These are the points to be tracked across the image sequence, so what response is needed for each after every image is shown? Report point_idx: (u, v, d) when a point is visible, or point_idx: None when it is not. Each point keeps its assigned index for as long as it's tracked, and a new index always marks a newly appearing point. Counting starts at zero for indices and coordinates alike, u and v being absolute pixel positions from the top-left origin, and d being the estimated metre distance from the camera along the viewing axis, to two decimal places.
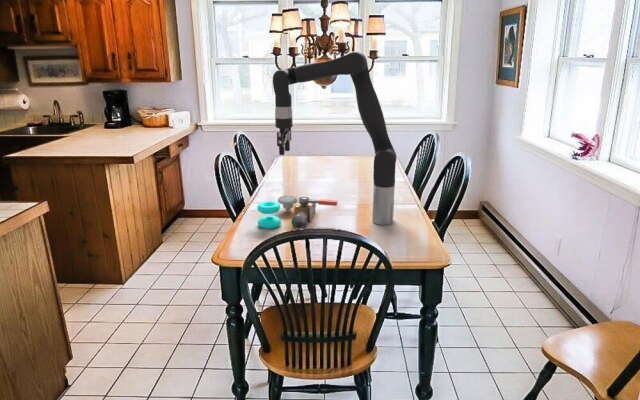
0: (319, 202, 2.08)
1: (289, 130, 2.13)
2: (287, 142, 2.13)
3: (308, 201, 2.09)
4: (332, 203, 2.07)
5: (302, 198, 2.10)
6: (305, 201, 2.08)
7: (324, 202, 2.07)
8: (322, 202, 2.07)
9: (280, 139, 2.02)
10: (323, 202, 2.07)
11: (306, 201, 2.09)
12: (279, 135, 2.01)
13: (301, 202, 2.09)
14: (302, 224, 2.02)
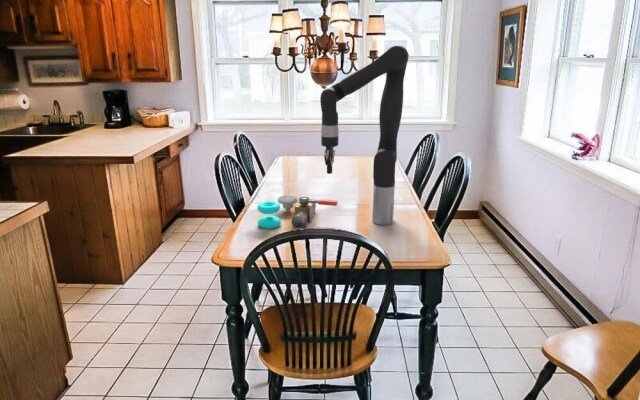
0: (319, 202, 2.08)
1: (333, 152, 2.11)
2: None
3: (308, 201, 2.09)
4: (332, 203, 2.07)
5: (302, 198, 2.10)
6: (305, 201, 2.08)
7: (324, 202, 2.07)
8: (322, 202, 2.07)
9: (328, 161, 2.03)
10: (323, 202, 2.07)
11: (306, 201, 2.09)
12: (327, 158, 2.02)
13: (301, 202, 2.09)
14: (302, 224, 2.02)
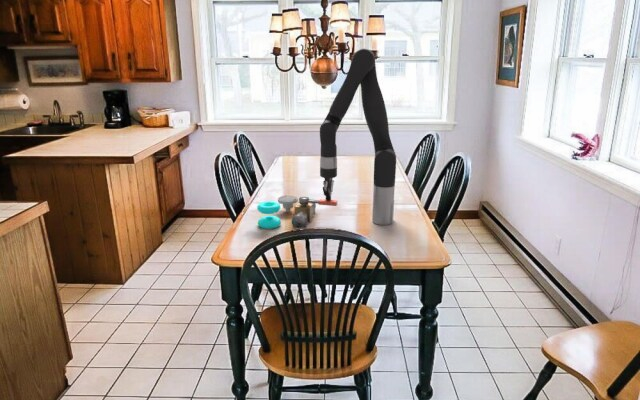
0: (319, 202, 2.08)
1: (332, 182, 2.13)
2: None
3: (308, 201, 2.09)
4: (332, 203, 2.06)
5: (302, 198, 2.10)
6: (305, 201, 2.08)
7: (324, 202, 2.07)
8: (322, 202, 2.07)
9: (327, 192, 2.05)
10: (323, 202, 2.07)
11: (306, 201, 2.09)
12: (325, 190, 2.04)
13: (301, 202, 2.09)
14: (302, 224, 2.02)
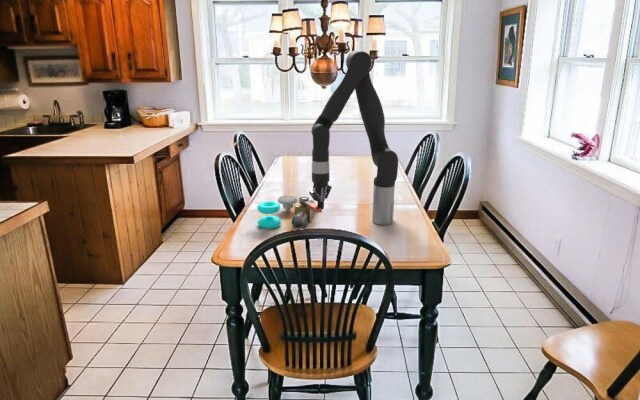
0: (308, 205, 2.04)
1: (329, 188, 2.04)
2: None
3: (304, 202, 2.08)
4: (314, 209, 1.99)
5: (302, 198, 2.11)
6: (301, 201, 2.09)
7: (310, 206, 2.02)
8: (309, 206, 2.02)
9: (314, 197, 1.99)
10: (310, 206, 2.02)
11: (302, 201, 2.09)
12: (312, 195, 1.98)
13: (299, 201, 2.10)
14: (302, 224, 2.02)
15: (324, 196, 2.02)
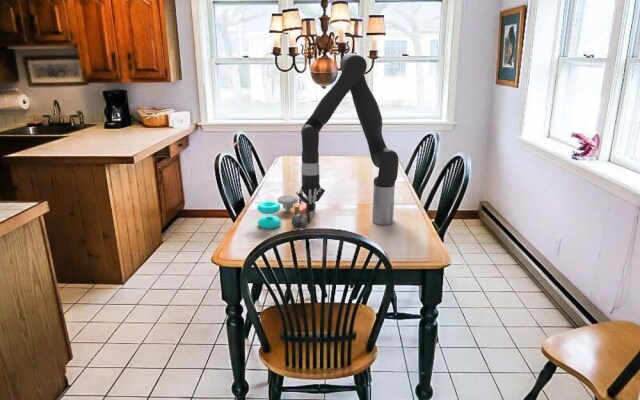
0: None
1: (321, 191, 2.00)
2: None
3: (301, 202, 2.08)
4: None
5: None
6: (299, 200, 2.09)
7: None
8: (300, 206, 2.02)
9: (301, 198, 1.97)
10: None
11: (300, 201, 2.09)
12: (298, 195, 1.97)
13: None
14: (302, 224, 2.02)
15: (314, 198, 1.99)
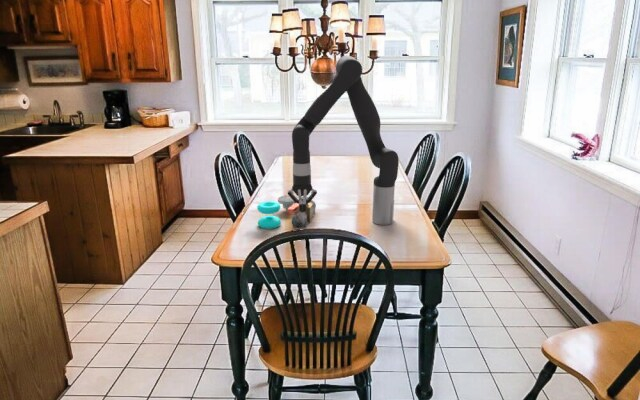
0: None
1: (313, 192, 1.98)
2: None
3: None
4: None
5: None
6: None
7: None
8: None
9: None
10: None
11: None
12: None
13: None
14: (302, 224, 2.02)
15: (305, 199, 1.98)
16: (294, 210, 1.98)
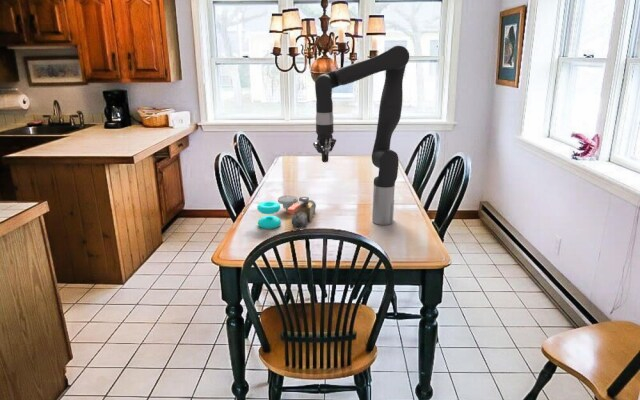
0: None
1: (333, 141, 2.06)
2: None
3: None
4: None
5: (303, 197, 2.11)
6: (299, 200, 2.10)
7: None
8: None
9: (318, 149, 2.01)
10: None
11: (299, 200, 2.10)
12: (316, 146, 2.00)
13: None
14: (302, 224, 2.02)
15: (328, 148, 2.04)
16: (294, 210, 1.98)
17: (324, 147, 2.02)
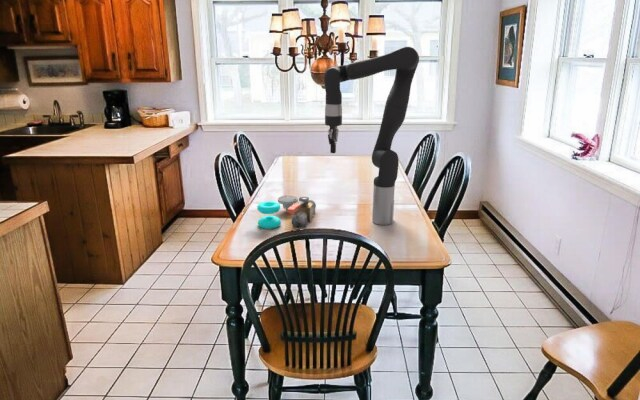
0: None
1: (337, 132, 2.13)
2: None
3: None
4: None
5: (303, 197, 2.11)
6: (299, 200, 2.10)
7: None
8: None
9: (332, 140, 2.06)
10: None
11: (299, 200, 2.10)
12: (330, 137, 2.04)
13: None
14: (302, 224, 2.02)
15: (336, 139, 2.11)
16: (294, 210, 1.98)
17: (335, 138, 2.08)
